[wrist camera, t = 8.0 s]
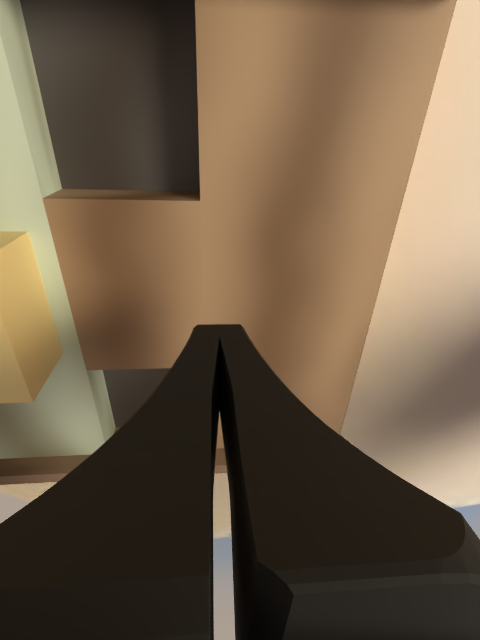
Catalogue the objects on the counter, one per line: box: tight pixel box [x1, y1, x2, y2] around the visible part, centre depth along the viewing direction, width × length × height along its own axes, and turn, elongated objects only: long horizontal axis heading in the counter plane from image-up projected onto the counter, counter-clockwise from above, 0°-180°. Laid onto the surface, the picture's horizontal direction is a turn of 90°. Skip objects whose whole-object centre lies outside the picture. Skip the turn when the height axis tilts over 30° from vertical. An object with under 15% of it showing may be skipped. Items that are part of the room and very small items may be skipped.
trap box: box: [0, 0, 457, 485], centre depth 12 cm, size 20×19×4 cm
